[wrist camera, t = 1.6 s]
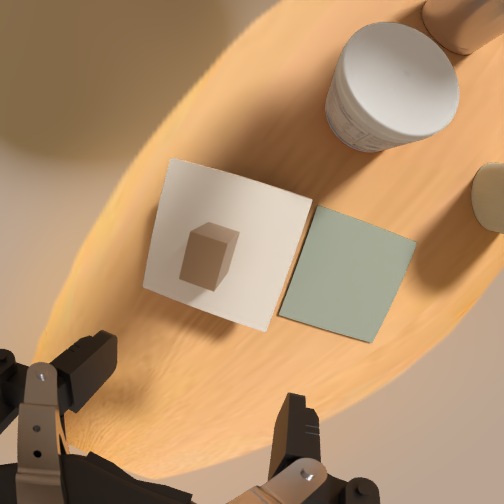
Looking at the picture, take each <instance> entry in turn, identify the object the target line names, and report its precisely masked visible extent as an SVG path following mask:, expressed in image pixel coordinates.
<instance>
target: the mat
mask: <svg viewBox="0 0 504 504" xmlns="http://www.w3.org/2000/svg"><path fill="white" fill-rule="evenodd" d="M416 245H417V242H414V241H412V240H410V239H407V238H405V237H402V236H400V235H397V234H395V233H392V232H390V231H387V230H384V229H382V228H379V227H377V226H374V225H372V224H369V223H366V222H364V221H361V220H358V219H356V218H353V217H350V216H347V215H345V214H342V213H339V212H336V211H334V210H331V209H328V208H325V207H322V206H319V205H318V206H317V209H316V212H315V215H314V218H313V220H312V223H311V226H310V229H309V232H308V235H307V238H306V241H305V244H304V247H303V249H302V252H301V255H300V258H299V261H298V263H297V266H296V269H295V272H294V274H293V277H292V280H291V283H290V285H289V288H288V291H287V293H286V296H285V299H284V301H283V304H282V307H281V309H280V312H279V315H281V316H284V317H287V318H290V319H293V320H296V321H299V322H303V323H306V324H309V325H312V326H316V327H319V328H322V329H325V330H329V331H332V332H336V333H339V334H342V335H346V336H349V337H353V338H356V339H360V340H363V341H367V342H370V343H373V341H374V339H375V337H376V335H377V333H378V331H379V329H380V327H381V325H382V323H383V321H384V319H385V317H386V315H387V313H388V311H389V308H390V306H391V304H392V302H393V300H394V298H395V296H396V293H397V291H398V289H399V287H400V284H401V282H402V280H403V277H404V275H405V273H406V270H407V268H408V265H409V263H410V260H411V258H412V255H413V253H414V250H415V248H416Z"/></svg>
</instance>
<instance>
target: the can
mask: <svg viewBox="0 0 504 504" xmlns="http://www.w3.org/2000/svg"><path fill="white" fill-rule="evenodd" d="M471 200H472V207H473V211H474V214H475V216H476V218H477V220H478V221H479V223H480V224H481V225H482V226H483V227H484V228H485V229H487V230H489V231H493V232H499V233H502V234H504V163H496V162H491V163H487V164H485V165H484V166H482V167H481V168H480V169H479V171H478V172H477V174H476V176H475V178H474V181H473V184H472V191H471Z"/></svg>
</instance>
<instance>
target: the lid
mask: <svg viewBox="0 0 504 504" xmlns="http://www.w3.org/2000/svg"><path fill="white" fill-rule="evenodd" d="M312 201H313V200H312V199H311V198H309V197H306V196H303V195H300V194H297V193H294V192H291V191H287V190H284V189H281V188H278V187H275V186H272V185H269V184H266V183H262V182H259V181H256V180H253V179H249V178H246V177H243V176H239V175H236V174H232V173H229V172H225V171H222V170H218V169H215V168H211V167H208V166H204V165H200V164H197V163H193V162H189V161H185V160H181V159H176V158H171V159H170V162H169V166H168V170H167V174H166V178H165V181H164V185H163V189H162V194H161V198H160V202H159V206H158V210H157V215H156V219H155V224H154V229H153V233H152V238H151V243H150V248H149V253H148V258H147V264H146V269H145V275H144V281H143V288H146V289H148V290H151V291H153V292H155V293H158V294H160V295H163V296H166V297H168V298H171V299H173V300H176V301H178V302H181V303H184V304H186V305H189V306H192V307H194V308H197V309H200V310H202V311H205V312H208V313H211V314H213V315H216V316H219V317H222V318H225V319H227V320H230V321H233V322H236V323H239V324H242V325H245V326H248V327H251V328H254V329H257V330H260V331H263V332H266V330H267V328H268V325H269V322H270V320H271V317H272V314H273V312H274V309H275V306H276V304H277V301H278V298H279V296H280V293H281V290H282V287H283V285H284V282H285V279H286V276H287V273H288V271H289V268H290V265H291V262H292V259H293V257H294V254H295V251H296V248H297V245H298V242H299V239H300V236H301V233H302V231H303V228H304V225H305V222H306V219H307V216H308V213H309V210H310V207H311V204H312Z"/></svg>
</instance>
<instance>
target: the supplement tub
mask: <svg viewBox="0 0 504 504" xmlns="http://www.w3.org/2000/svg"><path fill="white" fill-rule="evenodd" d="M458 103H459V85H458V80H457V76H456V73H455V71H454V68H453V66H452V64H451V62H450V61H449V59H448V57H447V56H446V54H445V53H444V52H443V51H442V49H441V48H440V47H439V46H438V45H437V44H436V43H435V42H434V41H433V40H431V39H430V38H429V37H428V36H426V35H425V34H423V33H422V32H420V31H418V30H416V29H414V28H412V27H409V26H407V25H403V24H399V23H394V22H378V23H373V24H370V25H367V26H365V27H363V28H361V29H360V30H358V31H357V32H356V33H355V34H354V35H353V36H352V37H351V38H350V39H349V41H348V43H347V44H346V45H345V47H344V48H343V50H342V53H341V55H340V58H339V61H338V63H337V66H336V70H335V73H334V76H333V79H332V82H331V85H330V88H329V91H328V94H327V98H326V103H325V113H326V118H327V121H328V124H329V126H330V128H331V130H332V131H333V133H334V134H335V135H336V136H337V137H338V138H339V139H340V140H341V141H342V142H343V143H345V144H346V145H348V146H349V147H351V148H353V149H356V150H359V151H363V152H378V151H382V150H386V149H389V148H393V147H397V146H401V145H404V144H408V143H412V142H416V141H419V140H423V139H425V138H428V137H430V136H432V135H434V134H436V133H437V132H439V131H441V130H442V129H444V128H445V127H446V126H447V125H448V124H449V123H450V122H451V120H452V119H453V117H454V115H455V113H456V111H457V108H458Z"/></svg>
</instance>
